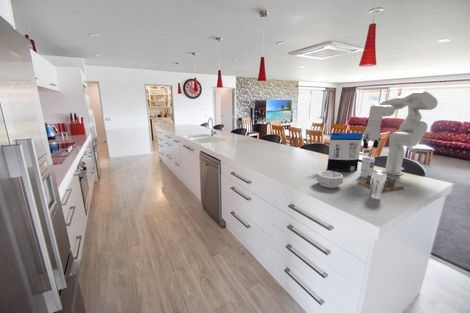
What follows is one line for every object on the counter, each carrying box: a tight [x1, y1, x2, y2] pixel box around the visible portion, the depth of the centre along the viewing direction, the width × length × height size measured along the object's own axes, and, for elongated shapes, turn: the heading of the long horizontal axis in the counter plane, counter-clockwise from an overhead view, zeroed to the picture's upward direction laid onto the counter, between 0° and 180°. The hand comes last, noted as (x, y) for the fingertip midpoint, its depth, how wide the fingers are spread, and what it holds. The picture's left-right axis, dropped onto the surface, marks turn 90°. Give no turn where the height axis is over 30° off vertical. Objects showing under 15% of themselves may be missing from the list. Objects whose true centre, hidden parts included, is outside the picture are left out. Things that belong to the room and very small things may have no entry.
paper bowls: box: [316, 170, 344, 189], centre depth 134 cm, size 15×15×8 cm
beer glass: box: [368, 169, 387, 201], centre depth 116 cm, size 7×7×15 cm
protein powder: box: [326, 132, 364, 173], centre depth 166 cm, size 10×24×30 cm, turn 90°
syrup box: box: [359, 156, 376, 179], centre depth 152 cm, size 6×6×14 cm
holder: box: [357, 175, 405, 193], centre depth 135 cm, size 20×16×6 cm
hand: (370, 147), depth 149 cm, fingers open, 9 cm apart
